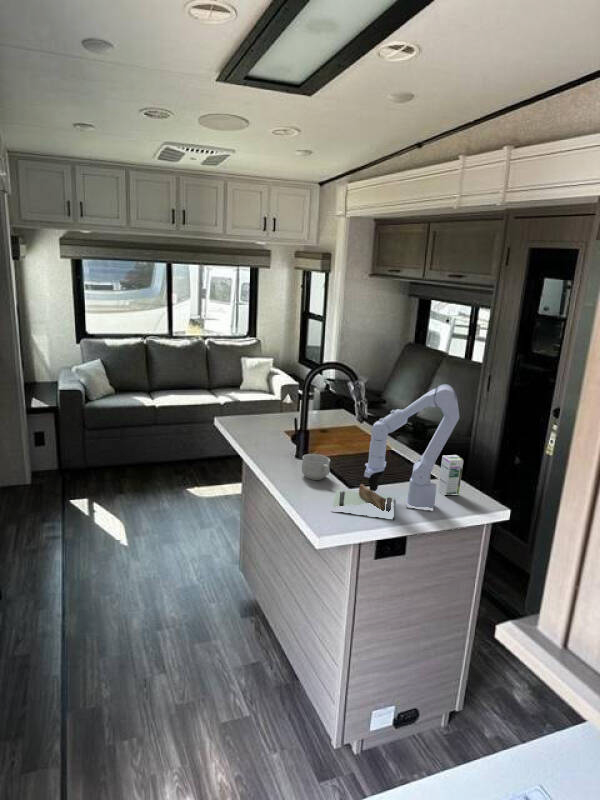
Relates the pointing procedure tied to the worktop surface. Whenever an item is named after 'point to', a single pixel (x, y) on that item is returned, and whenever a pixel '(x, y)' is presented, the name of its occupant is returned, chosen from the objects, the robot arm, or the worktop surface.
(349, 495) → the gate mat
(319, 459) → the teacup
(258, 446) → the worktop surface
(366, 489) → the wooden block
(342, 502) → the dark gray metal cylinder
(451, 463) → the syrup box
